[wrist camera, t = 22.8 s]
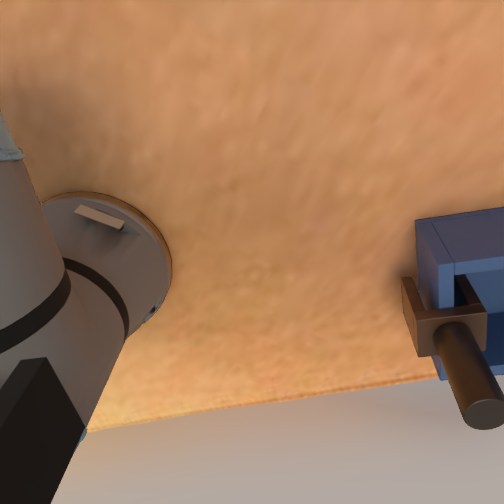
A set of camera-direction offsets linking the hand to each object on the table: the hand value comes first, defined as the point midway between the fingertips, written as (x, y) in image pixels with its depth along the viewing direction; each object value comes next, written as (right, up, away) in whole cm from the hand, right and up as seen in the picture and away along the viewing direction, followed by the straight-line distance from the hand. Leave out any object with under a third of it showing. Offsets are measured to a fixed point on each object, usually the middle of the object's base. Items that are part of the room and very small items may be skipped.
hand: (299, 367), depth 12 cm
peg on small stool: (+15, -1, +32) cm, 35 cm away
